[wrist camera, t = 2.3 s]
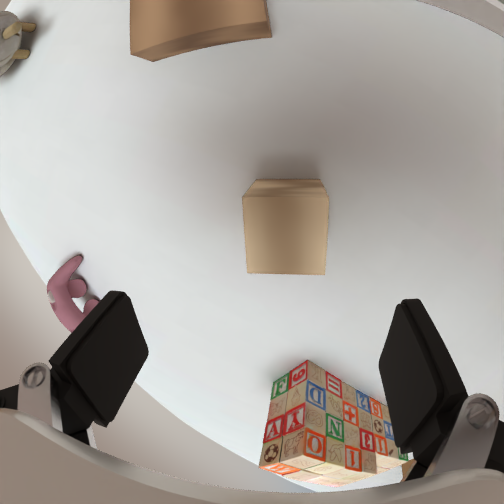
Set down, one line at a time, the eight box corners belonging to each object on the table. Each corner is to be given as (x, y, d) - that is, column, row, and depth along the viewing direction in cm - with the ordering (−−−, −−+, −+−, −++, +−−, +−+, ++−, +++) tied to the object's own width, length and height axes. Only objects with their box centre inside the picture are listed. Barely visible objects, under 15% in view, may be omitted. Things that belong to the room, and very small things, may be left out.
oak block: (320, 179, 20) (329, 197, 15) (318, 238, 22) (324, 274, 17) (256, 179, 21) (242, 197, 16) (259, 237, 23) (247, 273, 18)
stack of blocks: (400, 412, 32) (411, 479, 21) (369, 428, 34) (373, 492, 23) (306, 358, 29) (302, 457, 18) (271, 381, 31) (256, 469, 20)
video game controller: (75, 257, 30) (37, 289, 25) (79, 250, 27) (35, 287, 22) (119, 316, 33) (85, 350, 28) (129, 317, 29) (90, 356, 25)
